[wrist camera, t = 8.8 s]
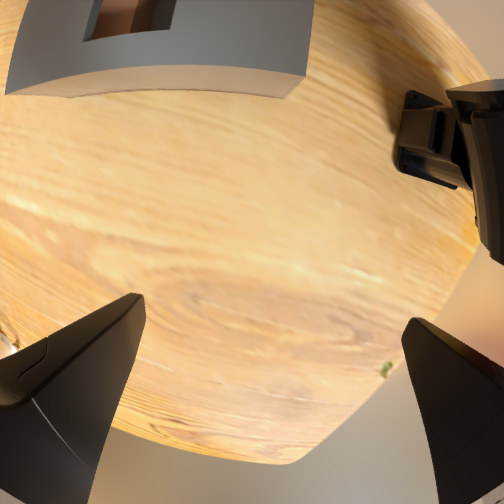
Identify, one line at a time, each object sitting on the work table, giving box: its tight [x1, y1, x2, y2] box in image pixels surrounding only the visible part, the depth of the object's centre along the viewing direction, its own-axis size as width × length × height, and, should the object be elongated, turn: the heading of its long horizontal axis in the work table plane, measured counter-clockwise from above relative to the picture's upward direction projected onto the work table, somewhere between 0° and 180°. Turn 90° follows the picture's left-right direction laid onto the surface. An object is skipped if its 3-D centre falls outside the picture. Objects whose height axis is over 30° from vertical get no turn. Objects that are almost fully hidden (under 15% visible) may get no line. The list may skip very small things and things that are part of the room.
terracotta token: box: [92, 0, 158, 40], centre depth 11 cm, size 3×6×4 cm
